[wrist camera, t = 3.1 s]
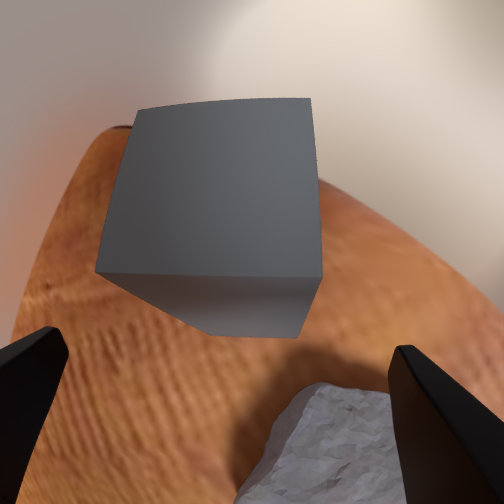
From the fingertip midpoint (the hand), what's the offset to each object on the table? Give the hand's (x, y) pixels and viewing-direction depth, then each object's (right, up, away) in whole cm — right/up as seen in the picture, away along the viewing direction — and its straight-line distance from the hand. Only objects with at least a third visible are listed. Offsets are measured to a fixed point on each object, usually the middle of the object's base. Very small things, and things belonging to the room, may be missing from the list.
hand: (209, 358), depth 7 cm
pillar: (+1, 0, +12) cm, 12 cm away
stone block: (+7, -10, +8) cm, 15 cm away
